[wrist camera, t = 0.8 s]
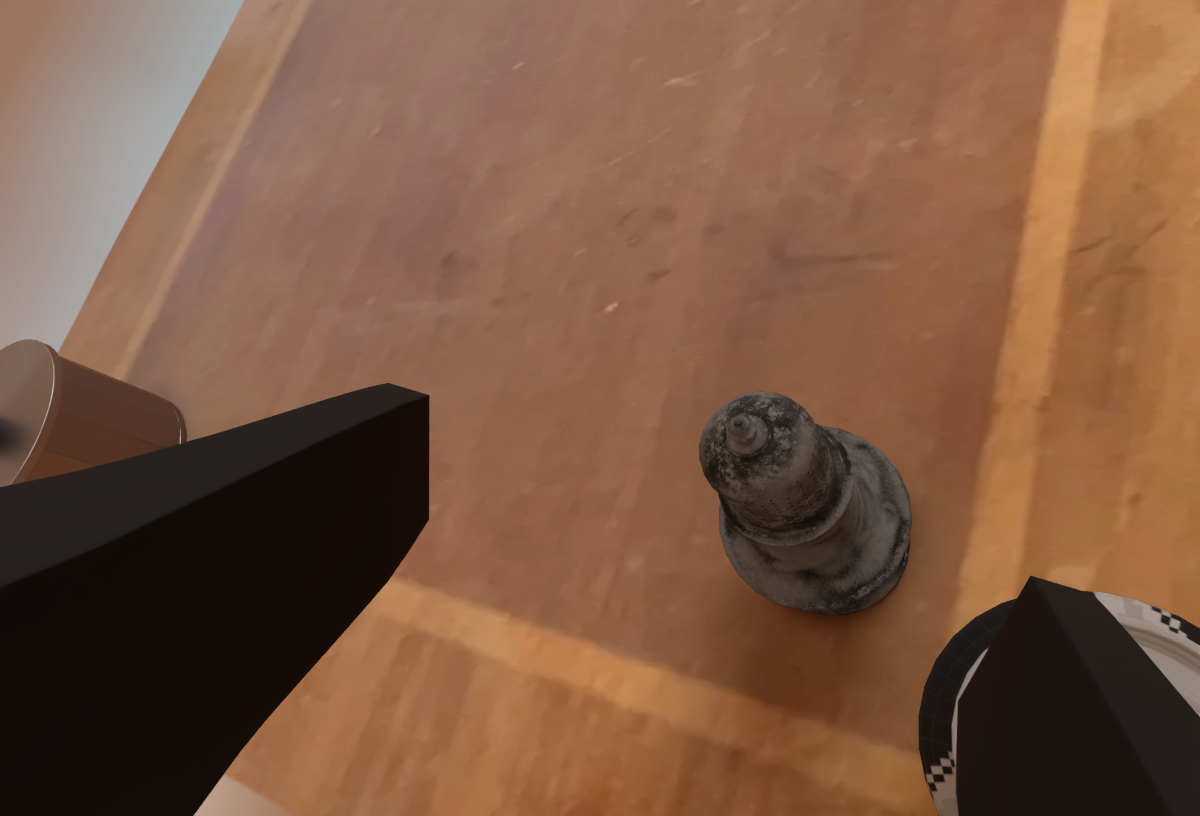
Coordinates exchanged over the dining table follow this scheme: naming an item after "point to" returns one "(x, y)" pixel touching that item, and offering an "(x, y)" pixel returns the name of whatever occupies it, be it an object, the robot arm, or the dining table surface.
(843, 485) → the chess piece
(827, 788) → the dining table surface
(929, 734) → the beverage can
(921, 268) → the dining table surface
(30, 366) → the pot lid
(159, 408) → the pot
